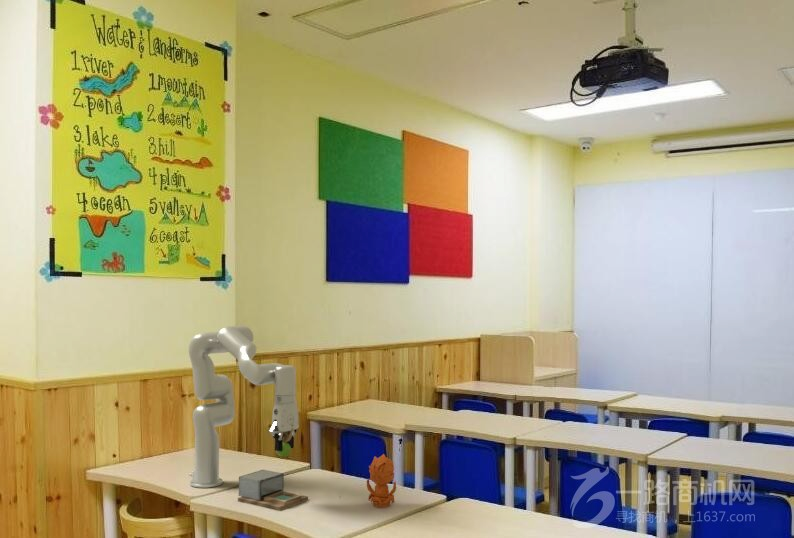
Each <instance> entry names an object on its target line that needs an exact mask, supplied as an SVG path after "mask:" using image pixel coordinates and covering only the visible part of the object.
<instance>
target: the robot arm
mask: <svg viewBox="0 0 794 538" xmlns="http://www.w3.org/2000/svg"><path fill="white" fill-rule="evenodd" d="M253 341H254V333H253V331H252V329H251V328H249V327H248V326H245V325H235V326H234V325H230V326H225V327H223V328H221V329H220V330H219V331H216V332H215V331H211V332H209V331H208V332H203V333H197V334H196V335H194V336H193V337H192V338H191V339H190V341H189V345H188V355H189V358H190V362H191V367H192V379H193V390H194V396H195V398H196V399H197V400H198V401H210V400H215V402H210V403H204V404H200V405H198V406H197V407H195V409H194V410H193V412H192V422H193V429H194V462H193V463H194V467H193V469H192V470H191V472H189V473H188V476H189V477H192V479H191V480H190V481H189V485H190V486H191V487H193V488H199V489H200V488H202V489H203V488H205V489H206V488H214V487H218V486H220V485H222V484H223V482H224V479H222V478H221V477H220V435H219V433H218V431H217V430H216V427H221V426H226V425H229V424H231V423H232V422H233V421H234V419H235V415H236V408H235V397H234V386H233V383H232V381H231V379H230V378H229V376H227V375H225V374H216V372H215V371H216V370H215V364H214V362H213V360H212V358H211V357H210V355H211V354H221V353H229V354H230V355H231V356H233V357H234V358H235V359H236V360H237V364H238V365H237V366H238V370H239V372H240V374H241V375H242V376H243V377H244V378H245V379H246V380H247V381H248V382H249V383H251V384H253V385H255V386H264V385H265V386H266V385H272V384H274V398H273V400H274V404H273V408H272V415H271V427H270V429H269V433H270V435H271V436H272V437H273V440H274V451H275V452H276V451H282V450H283V440H281V439H282V434H283V432H289V433H290V431H291V430H292V424H294V426H293V433H292V437H291V439H290V440H289V441H288V442H287V443H288V444H289V445H290V447H291V449H294V447H295V446H294V445H295V438H294V437H296V433H297V431H298V429H299V428H300V424H299V410H298V409H299V408H298V403H297V401H296V385H297V384H296V383H297V382H296V379H297V378H296V377H297V376H296V375H297V374H296V373H297V372H296V371H297V370H296V367H295V366H294V365H291V364H289V365H287V364H285V365H284V364H282V363H277V362H272V363H262V364H258V363H256V361H254V360H253V358H254V357H255V355H256V353H257V346H256V344H254V343H253ZM278 433H279V435H278Z"/></svg>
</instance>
